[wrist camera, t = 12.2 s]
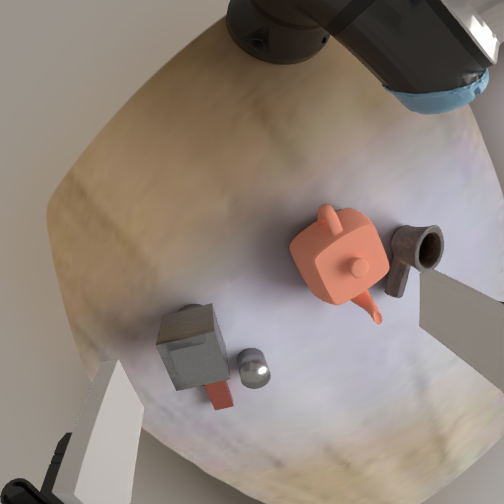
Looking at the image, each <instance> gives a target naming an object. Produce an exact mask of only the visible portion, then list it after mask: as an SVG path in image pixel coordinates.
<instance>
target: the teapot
mask: <svg viewBox="0 0 504 504" xmlns="http://www.w3.org/2000/svg"><path fill="white" fill-rule="evenodd" d="M317 219H318V220H317V221H316V222H314V223H313V224H311V225H310V226H308V227H307V228H306V229H304V230H303V231H302V232H300V233H299V234H298V235H297V236H296V237H295V238H293V240H292V241H291V243H290V246H289V248H290V252H291V254H292V257H293V259H294V261H295V264H296V266H297V268H298V270H299V272H300V274H301V276H302V277H303V279H304V281H305V282H306V284H307V286H308V287H309V289H310V290H311V292H312V293H313V294H314V295H315V296H316V297H318V298H319V299H321V300H322V301H325V302H327V303H330V304H333V305H340V304H343V303H345V302H347V301H349V300H351V301H352V302H354V303H355V304H357V305H358V306H360V307H362V308H363V309H365V310H366V311H367V312H368V313H369V314H370V315H371V317H372V318H373V320H374V321H375V322H376V323H377V324H381V323H382V316H381V313H380V311H379V310H378V308H377V306H376V305H375V303H374V301H373V299H372V298H371V296H370V294H369V291H368V289H369V288H370V287H371V286H373V285H374V284H375V283H376V282H378V281H379V280H380V279H381V278H382V277H384V276H385V275H386V273H387V272H388V271H389V262H388V259H387V256H386V253H385V250H384V248H383V245H382V242H381V240H380V237H379V235H378V233H377V230H376V228H375V226H374V225H373V223H372V222H371V221H370V220H369V219H368V218H367V217H366V216H365V215H364V214H362V213H361V212H359V211H357V210H355V209H352V208H346V209H342V210H339V211H336V212H335V211H334V209H333V208H332V207H331V206H330V205H329V204H324V205H322V206H321V207H320V208H319V210H318V215H317Z"/></svg>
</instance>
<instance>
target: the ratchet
mask: <svg viewBox="0 0 504 504" xmlns="http://www.w3.org/2000/svg"><path fill="white" fill-rule="evenodd" d="M200 306H203V305H199V304H189V305H186V306H184V307H182V308H181V309H180V310H179V311H178V312H180V311H184V310H188V309H192V308H196V307H200ZM205 387H206V390H207V392H208V395H209V397H210V399H211V402H212V404H213V406H214V409H215V410H219V409H223V408H228V407H232V406H234V405H233V399H232V396H231V393H230V390H229V387H228V385H227V382H226V380H223V381H219V382H215V383H211V384H206V385H205Z"/></svg>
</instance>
